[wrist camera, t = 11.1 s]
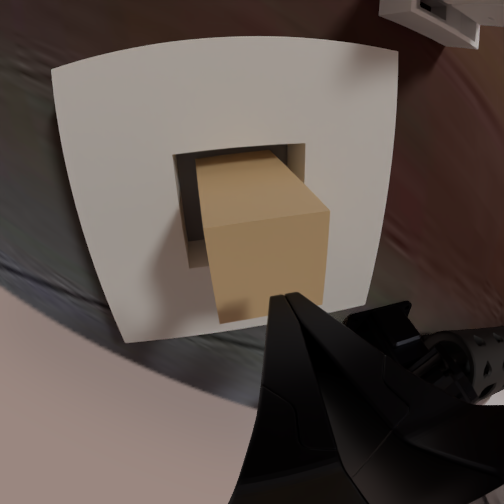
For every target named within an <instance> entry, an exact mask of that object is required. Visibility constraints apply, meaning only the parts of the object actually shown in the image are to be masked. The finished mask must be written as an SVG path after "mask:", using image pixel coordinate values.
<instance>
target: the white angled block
mask: <svg viewBox="0 0 504 504" xmlns="http://www.w3.org/2000/svg"><path fill="white" fill-rule="evenodd" d="M420 1H421V2H423V3H425V4H426V5H428V6H430V7H431V12H429V11H428V10H426V9H424V8H422V7H420ZM379 16H380V17H383V18H385V19H388V20H391V21H393V22H395V23H398V24H400V25H402V26H405V27H407V28H409V29H412V30H414V31H416V32H418V33H420V34H422V35H424V36H426V37H428V38H430V39H432V40H434V41H436V42H438V43H440V44H442V45H444V46H449V47H461V48H471V49H478V46H479V31H480V25H487V26H499V27H504V0H380V5H379Z"/></svg>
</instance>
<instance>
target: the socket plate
mask: <svg viewBox="0 0 504 504" xmlns="http://www.w3.org/2000/svg"><path fill="white" fill-rule="evenodd" d="M51 74H52V84H53V93H54V101H55V108H56V115H57V121H58V127H59V133H60V139H61V144H62V149H63V154H64V159H65V164H66V168H67V173H68V177H69V181H70V186H71V190H72V194H73V198H74V201H75V205H76V209H77V212H78V216H79V219H80V223H81V226H82V230H83V233H84V236H85V239H86V243H87V246H88V249H89V252H90V255H91V258H92V261H93V264H94V267H95V269H96V272H97V275H98V278H99V280H100V283H101V286H102V288H103V291H104V294H105V296H106V299H107V301H108V304H109V306H110V309H111V311H112V314H113V316H114V319H115V321H116V323H117V326H118V328H119V330H120V333H121V335H122V337H123V339H124V341H125V343H132V342H142V341H152V340H161V339H170V338H179V337H187V336H194V335H202V334H209V333H216V332H223V331H230V330H236V329H243V328H249V327H255V326H261V325H267V319H268V316H263V317H258V318H252V319H247V320H241V321H236V322H230V323H224V324H220V323H219V318H218V313H217V307H216V302H215V296H214V291H213V285H212V279H211V273H210V267H209V262H208V256H207V249H206V243H205V237H204V231H203V223H202V215H201V207H200V199H199V190H198V181H197V172H196V163H195V159H198V158H205V157H212V156H219V155H227V154H235V153H244V152H253V151H263V150H270V151H271V152H272V153H273V154H274V155H275V156H276V157H277V158H278V159H279V160H280V161H282V162H283V163H284V164H285V165H286V166H287V167H288V168H289V169H290V170H291V171H292V172H293V173H294V174H295V175H296V176H297V177H298V178H299V179H300V180H301V181H302V182H303V183H304V184H305V185H306V186H307V187H308V188H309V189H310V190H311V191H312V192H313V193H314V194H315V195H316V196H317V197H318V198H319V199H320V200H321V202H322V203H323V204H324V205H325V206H326V207H327V208H328V209H329V210H330V222H329V237H328V250H327V262H326V273H325V284H324V293H323V303H322V305H318V306H319V307H320V308H321V309H323V310H324V311H326V312H327V313H330V312H335V311H339V310H344V309H349V308H353V307H358V306H362V305H365V303H366V299H367V295H368V291H369V287H370V282H371V278H372V274H373V269H374V264H375V260H376V255H377V250H378V245H379V240H380V235H381V229H382V224H383V218H384V212H385V206H386V199H387V193H388V186H389V178H390V171H391V162H392V154H393V144H394V133H395V121H396V106H397V86H398V51H394V50H389V49H384V48H379V47H373V46H368V45H361V44H355V43H348V42H340V41H332V40H323V39H311V38H297V37H273V36H242V37H218V38H203V39H192V40H183V41H174V42H167V43H160V44H153V45H147V46H141V47H136V48H131V49H126V50H121V51H116V52H112V53H107V54H103V55H99V56H95V57H91V58H88V59H84V60H80V61H77V62H73V63H70V64H67V65H64V66H60V67H57V68H54V69H51Z"/></svg>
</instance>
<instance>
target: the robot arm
mask: <svg viewBox="0 0 504 504" xmlns="http://www.w3.org/2000/svg"><path fill="white" fill-rule="evenodd" d="M410 309H411V303H410V302H409V301H404V302H400V303H396V304H392V305H388V306H384V307H380V308H376V309H372V310H368V311H364V312H360V313H355V314H353V315H351V316H350V317H349V319H348V323H347V327H346V326H345V325H344V324H342V323H341V322H339V321H338V320H337V319H335V318H334V317H333V316H331V315H330V314H328V313H327V312H326V311H324V310H323V309H321V308H320V307H319V306H317V305H316V304H315V303H313V302H312V301H310V300H309V299H308V298H306V297H305V296H303V295H302V294H301V293H299V292H292V293H286V294H285V295H282V294H280V295H274V296H270V298H269V308H268V319H267V329H266V339H265V349H264V359H263V369H262V379H261V388H260V396H259V404H258V410H257V416H256V421H255V424H254V428H253V432H252V436H251V440H250V443H249V446H248V449H247V453H246V456H245V459H244V463H243V466H242V469H241V472H240V476H239V478H238V481H237V484H236V487H235V489H234V492H233V494H232V496H231V498H230V501H229V503H228V504H504V405H475V404H476V403H478V402H479V401H480V400H479V397H478V395H477V393H476V392H475V390H474V388H473V386H472V385H471V383H470V382H469V380H468V379H467V377H466V376H465V374H464V373H463V372H462V370H461V369H460V368H459V366H458V365H457V364H456V362H455V361H454V360H453V359H452V357H451V356H450V355H449V354H448V352H447V351H446V350H445V348H444V347H443V346H442V345H441V344H440V342H438V343H437V344H436V345H435V346H434V348H432V349H431V350H430V351H429V350H428V348H427V347H426V345H425V344H424V342H423V341H422V340H421V335H420V334H419V332H418V331H417V329H416V328H415V327H414V325H413V324H412V323H411V321H410V320H409V319H408V314H409V311H410ZM445 368H446V369H447V370H446V371H445V372H444V373H442V371H443V370H444V369H445Z"/></svg>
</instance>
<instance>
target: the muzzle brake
mask: <svg viewBox="0 0 504 504" xmlns="http://www.w3.org/2000/svg"><path fill="white" fill-rule="evenodd" d="M421 340H422V341H423V342H424V344H425V345H426V347H427V348H428V350H429V351H430V350H431V349H432V348H434V346H435V345H436V344H437V343H438V342H440V344H441V345H442V346H443V347H444V348H445V350H446V351H447V352H448V354H449V355H450V356H451V357H452V359H453V360H454V361H455V362H456V364H457V365H458V366H459V368H460V369H461V370H462V372H463V373H464V374H465V376H466V377H467V379H468V380H469V382H470V383H471V385H472V386H473V388H474V390H475V392H476V393H477V395H478V397H479V400H483V399H485V398H487V397H489V396H491V395H493V394H495V393H497V392H499V391H501V390H503V389H504V326H501V327H494V328H480V329H465V330H450V331H440V332H436V333H434V334H432V335H423V336H422V338H421ZM446 370H447V369H446V368H445V369H444V370H443V371H442V373H444V372H445V371H446Z"/></svg>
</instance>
